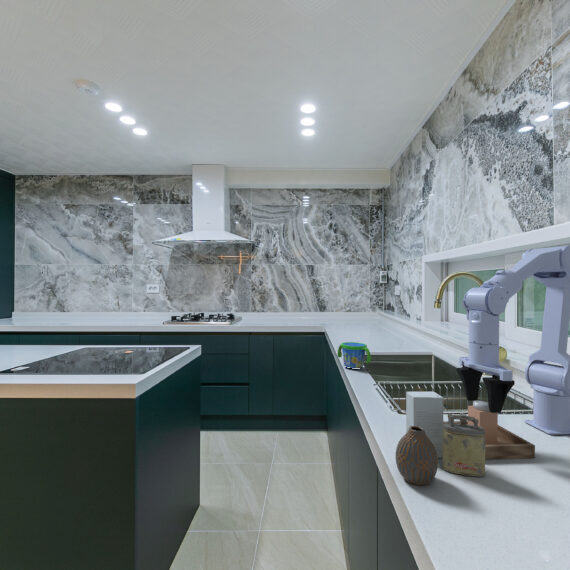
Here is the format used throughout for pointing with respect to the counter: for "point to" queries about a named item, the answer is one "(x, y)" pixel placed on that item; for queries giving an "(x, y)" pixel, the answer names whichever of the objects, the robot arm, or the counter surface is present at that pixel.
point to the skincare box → (426, 416)
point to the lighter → (464, 446)
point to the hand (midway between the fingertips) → (483, 405)
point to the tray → (507, 446)
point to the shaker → (485, 420)
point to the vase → (416, 457)
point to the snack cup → (354, 354)
